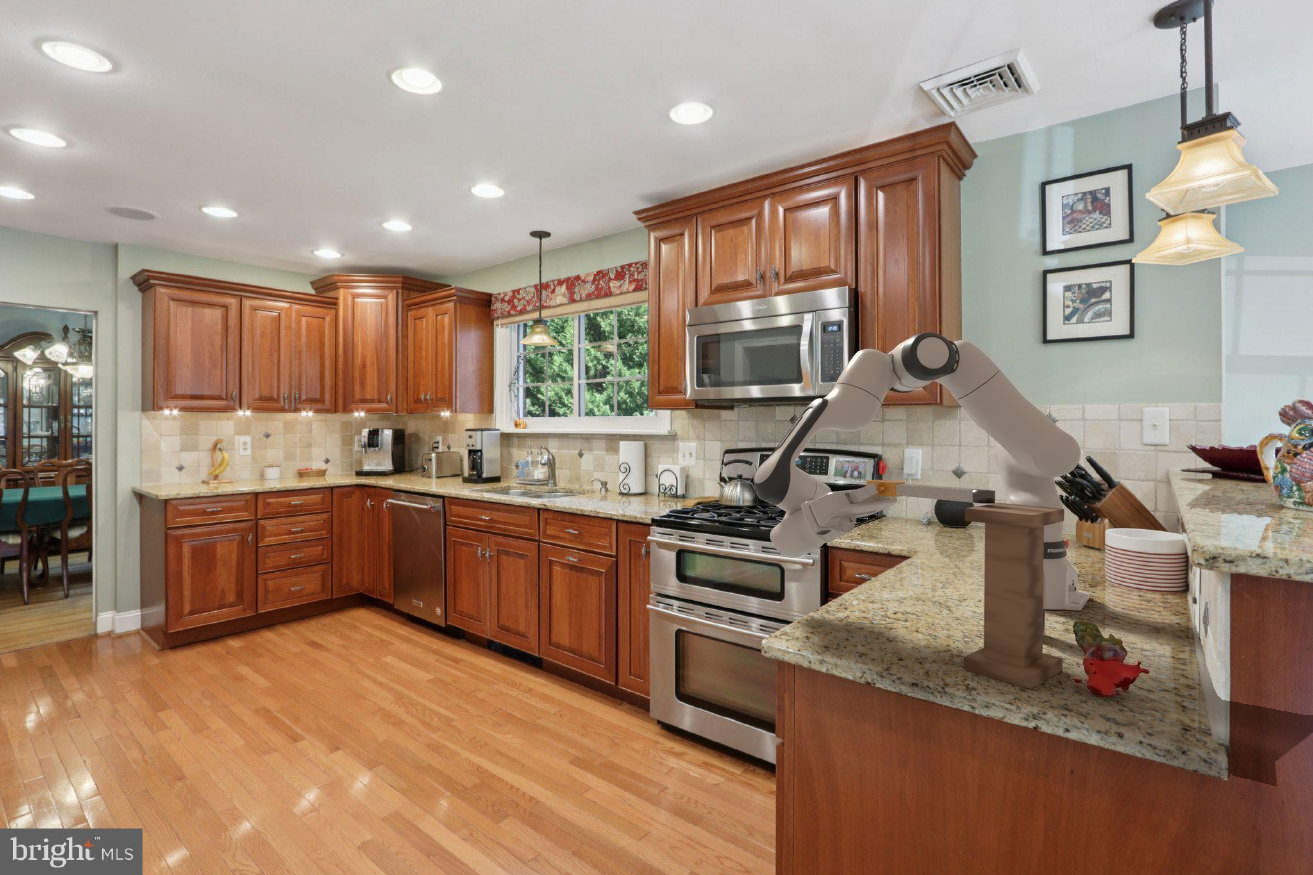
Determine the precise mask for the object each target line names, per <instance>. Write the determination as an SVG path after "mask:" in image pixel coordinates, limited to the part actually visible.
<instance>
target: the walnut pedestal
mask: <svg viewBox="0 0 1313 875" xmlns="http://www.w3.org/2000/svg"><path fill="white" fill-rule="evenodd" d="M964 521H965V522H973V523H982V524H984V573H983V574H984V577H983V579H984V580H983V582H984V583H983V584H984V588H983V590H984V591H983V592H984V594H983V595H984V596H983V602H984V604H983V648H980V649H978V650H976V651H974V652H971V653H969V654H967V655H965V656H963V670H964V669H965V671H967V672H968V671H969V672H970V673H971V672H972V673H975V674H978V675H981V676H984V677H986V678H987V677H988V678H991V679H995V680H998V681H1002V682H1004V683H1008V684H1011V685H1014V686H1018V687H1020V688H1021V687H1022V688H1023V689H1024V688H1025V689H1028V690H1033V689H1035V687H1038V686H1039V685H1041V684H1042V683H1044V682H1047V680H1049V679H1051V678H1052V677H1055V675H1058V674H1059V673H1061V672H1062V671H1063V657H1060V656H1055V655H1053V654H1048V653H1045V652H1043V646H1044V645H1043V644H1044V643H1043V642H1044V641H1043V639H1044V636H1043V565H1044V526H1046V525H1050V524H1055V523H1059V522H1063V523H1064V522H1065V508H1063V509H1061V508H1050V507H1040V506H1029V505H1018V504H1007V503H1004V502H995V503H994V504H983V505H982V504H981V505H977V506H971V507H965V509H964Z"/></svg>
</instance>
